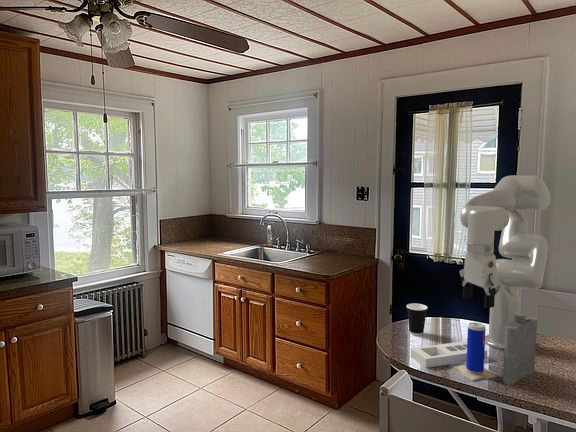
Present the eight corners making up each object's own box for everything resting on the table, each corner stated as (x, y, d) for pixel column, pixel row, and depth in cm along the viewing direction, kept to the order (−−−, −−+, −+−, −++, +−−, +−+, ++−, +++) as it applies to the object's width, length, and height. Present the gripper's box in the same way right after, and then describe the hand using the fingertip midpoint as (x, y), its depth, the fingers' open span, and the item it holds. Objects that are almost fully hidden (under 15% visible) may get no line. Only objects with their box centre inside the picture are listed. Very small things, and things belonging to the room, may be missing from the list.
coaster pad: (477, 364, 146) (477, 363, 146) (496, 377, 138) (497, 375, 137) (453, 368, 144) (453, 366, 144) (472, 380, 135) (472, 379, 135)
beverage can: (485, 374, 138) (487, 328, 136) (467, 373, 139) (469, 327, 137) (481, 367, 143) (483, 322, 141) (464, 366, 144) (466, 321, 142)
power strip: (469, 348, 159) (469, 339, 159) (486, 358, 151) (487, 348, 150) (410, 356, 153) (410, 346, 152) (425, 367, 144) (425, 357, 144)
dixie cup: (403, 329, 178) (404, 303, 177) (423, 330, 178) (424, 303, 177) (408, 337, 170) (409, 309, 169) (429, 337, 170) (430, 309, 169)
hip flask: (511, 386, 132) (514, 321, 130) (497, 381, 135) (500, 317, 133) (536, 371, 141) (539, 310, 139) (523, 367, 144) (526, 307, 142)
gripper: (511, 253, 129) (508, 309, 131) (471, 243, 146) (469, 293, 148) (490, 255, 127) (487, 312, 129) (451, 244, 144) (450, 296, 146)
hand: (478, 302), depth 138 cm, fingers open, 9 cm apart
